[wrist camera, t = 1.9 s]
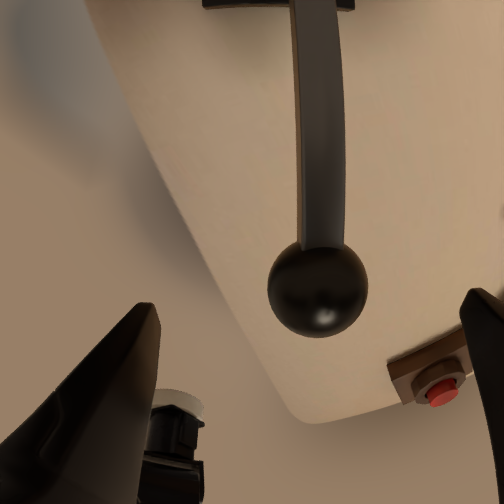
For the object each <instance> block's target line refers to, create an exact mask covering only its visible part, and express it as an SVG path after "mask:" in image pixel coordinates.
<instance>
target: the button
mask: <svg viewBox="0 0 504 504" xmlns="http://www.w3.org/2000/svg"><path fill="white" fill-rule="evenodd" d="M426 394H427V397H428V400H429V403H430V405H431V406H432V407H437V406H441V405H443V404H445V403H447V402H449V401H451V400H452V399H453V398H454V397H455V396H456V395H457V394H458V389H457V386H456V384H455V381H454V379H453V378H451V379H447V380H443V381H441V382H439V383H437V384H435V385H434V386H433V387H431V388H430V389H429V390H428V391H427V392H426Z"/></svg>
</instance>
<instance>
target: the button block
mask: <svg viewBox="0 0 504 504" xmlns="http://www.w3.org/2000/svg"><path fill="white" fill-rule="evenodd" d="M387 368H388V371H389V375H390V378H391V381H392V383H393V385H394V387H395V389H396V391H397V393H398V395H399V397H400V399H401V401H402V403H403V405H404V404H407V403H409V402H411V401H414V400H416V403H420V404H428V403H429V400H428V397H427V394H426V392H427V391H428V390H429V389H430V388H431V387H433V386H434V385H435V384H437V383H439V382H441V381H443V380H447V379H451V378H453V379H454V381H455V384H456V386H457V389H458V388H459V387H460V386H461V385H462V383H463V382H464V381H465V379H466V376H465V375H467V374H469V373H471V372H472V364H471V360H470V356H469V352H468V348H467V343H466V339H465V335H464V331H463V328H462V329H460V330H458V331H457V332H455V333H453V334H451V335H449V336H447V337H445V338H443V339H441V340H440V341H438V342H436V343H434V344H432V345H430V346H428V347H426V348H424V349H421V350H419V351H417V352H415V353H413V354H411V355H409V356H407V357H405V358H402V359H400V360H398V361H396V362H393V363H391V364H389V365H387Z"/></svg>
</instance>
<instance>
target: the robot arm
mask: <svg viewBox="0 0 504 504" xmlns="http://www.w3.org/2000/svg"><path fill="white" fill-rule="evenodd" d="M459 314H460V319H461V323H462V327H463V331H464V335H465V339H466V343H467V348H468V352H469V356H470V360H471V364H472V367H473V370H474V374H475V377H476V380H477V384H478V387H479V391H480V395H481V399H482V403H483V407H484V411H485V416H486V420H487V425H488V429H489V434H490V439H491V445H492V450H493V456H494V462H495V469H496V478H497V486H498V495H499V504H504V303H502V302H501V301H499V300H498V299H497V298H495V297H494V296H492V295H491V294H490V293H488V292H487V291H485V290H484V289H482V288H472V289H470V290H469V291H468V293H467V295H466V297H465V299H464V301H463V303H462V305H461V307H460V312H459ZM160 337H161V325H160V321H159V318H158V315H157V312H156V308H155V306H154V304H153V303H147V302H146V303H143V302H140V303H138V304H136V305H135V306H134V307H133V308H132V309H131V310H130V311H129V312H128V313H127V314H126V315H125V316H124V317H123V318H122V319H121V320H120V321H119V322H118V323H117V324H116V325H115V327H113V329H112V330H111V331H110V332H109V333H108V334H107V335H106V336H105V337H104V338H103V339H102V340H101V341H100V342H99V343H98V344H97V345H96V346H95V347H94V348H93V349H92V350H91V352H89V354H88V355H87V356H86V357H85V358H84V359H83V360H82V361H81V362H80V363H79V364H78V365H77V366H76V367H75V368H74V369H73V371H72V372H71V373H70V374H69V375H68V376H67V377H66V378H65V379H64V380H63V381H62V382H61V383H60V385H59V386H58V387H57V388H56V389H55V391H53V392H52V393H51V394H50V396H48V398H47V399H46V400H45V401H44V402H43V403H42V404H41V405H40V406H39V407H38V408H37V409H36V410H35V412H34V413H33V414H32V415H31V416H30V417H28V418H27V419H26V420H25V421H24V422H23V423H22V424H21V425H20V426H19V427H18V428H17V429H16V430H15V431H14V432H13V433H11V434H10V435H9V436H8V437H7V438H6V439H5V440H4V441H3V442H2V443H1V444H0V504H202V502H203V498H204V470H203V469H204V468H203V461H200V460H199V461H195V460H194V450H195V449H196V448H197V438H198V428H201V427H204V426H205V424H204V422H202V421H200V420H199V419H197V418H195V417H194V416H192V415H190V414H189V413H187V412H185V411H184V410H182V409H181V408H179V407H177V406H176V405H173V404H169V405H165V406H161V407H157V408H152V403H153V398H154V392H155V387H156V381H157V369H158V358H159V347H160ZM151 408H152V409H151Z"/></svg>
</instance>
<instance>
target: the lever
mask: <svg viewBox="0 0 504 504" xmlns="http://www.w3.org/2000/svg"><path fill="white" fill-rule="evenodd" d="M289 7H290V21H291V36H292V52H293V71H294V92H295V119H296V157H297V242H295V243H293V244H291V245H290V246H288V247H287V248H286V249H285V250H283V251H282V252H281V254H280V255H279V256H278V257H277V259H276V260H275V262H274V264H273V266H272V268H271V270H270V273H269V277H268V287H267V291H268V298H269V302H270V305H271V308H272V310H273V312H274V314H275V315H276V317H277V318H278V319H279V321H280V322H281V323H282V324H283V325H284V326H285V327H287V328H288V329H289V330H291V331H293V332H294V333H296V334H299V335H302V336H305V337H310V338H324V337H329V336H333V335H336V334H338V333H340V332H342V331H344V330H345V329H347V328H348V327H349V326H350V325H352V324H353V323H354V322H355V321H356V319H357V318H358V317H359V315H360V314H361V312H362V310H363V308H364V306H365V303H366V300H367V295H368V278H367V274H366V271H365V268H364V265H363V263H362V262H361V260H360V258H359V257H358V256H357V254H356V253H355V252H354V251H353V250H352V249H351V248H350V247H348V246H347V245H345V244H344V225H345V180H346V157H345V112H344V91H343V74H342V60H341V48H340V37H339V27H338V17H337V9H336V1H335V0H289Z"/></svg>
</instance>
